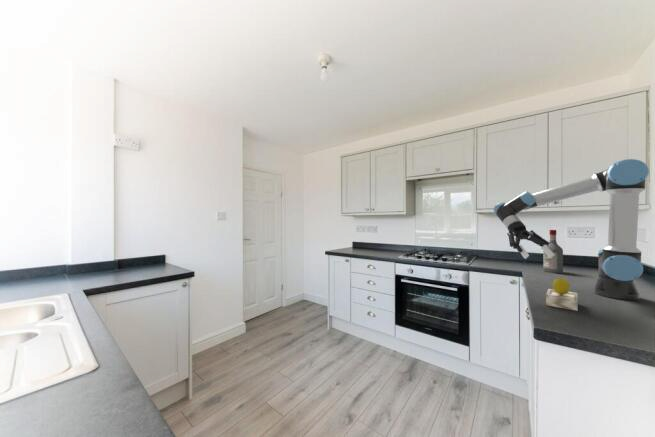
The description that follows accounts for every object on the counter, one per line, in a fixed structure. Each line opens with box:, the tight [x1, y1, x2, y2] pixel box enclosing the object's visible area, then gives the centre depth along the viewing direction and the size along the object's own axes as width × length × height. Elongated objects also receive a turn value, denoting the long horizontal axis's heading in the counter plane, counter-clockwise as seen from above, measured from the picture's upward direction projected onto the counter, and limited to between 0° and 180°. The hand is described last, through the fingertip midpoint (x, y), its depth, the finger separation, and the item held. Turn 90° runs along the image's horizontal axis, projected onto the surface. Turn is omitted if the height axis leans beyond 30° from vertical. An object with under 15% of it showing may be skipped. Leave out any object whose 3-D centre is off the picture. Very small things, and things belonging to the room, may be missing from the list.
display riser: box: [545, 288, 579, 312], centre depth 114 cm, size 10×12×5 cm
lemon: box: [552, 277, 571, 295], centre depth 114 cm, size 6×6×8 cm
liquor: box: [542, 229, 564, 274], centre depth 182 cm, size 9×9×30 cm
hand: (539, 256), depth 125 cm, fingers open, 13 cm apart
